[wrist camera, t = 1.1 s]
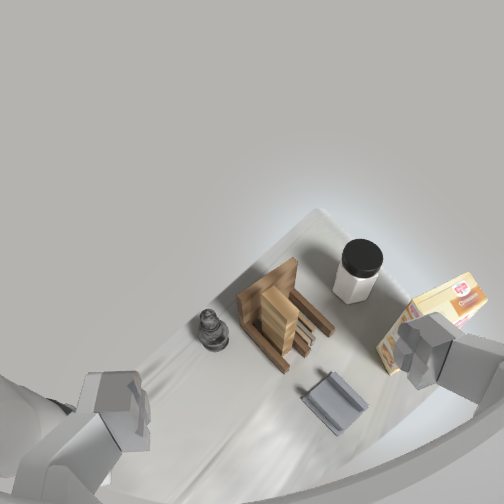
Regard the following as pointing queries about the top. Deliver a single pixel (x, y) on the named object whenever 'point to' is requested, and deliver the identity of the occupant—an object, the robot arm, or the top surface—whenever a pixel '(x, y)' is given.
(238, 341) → the top surface
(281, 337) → the wooden block
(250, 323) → the walnut rack
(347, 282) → the jar
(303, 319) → the offcut boards
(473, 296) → the coffeecake box
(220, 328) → the salt shaker
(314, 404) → the slate holder
